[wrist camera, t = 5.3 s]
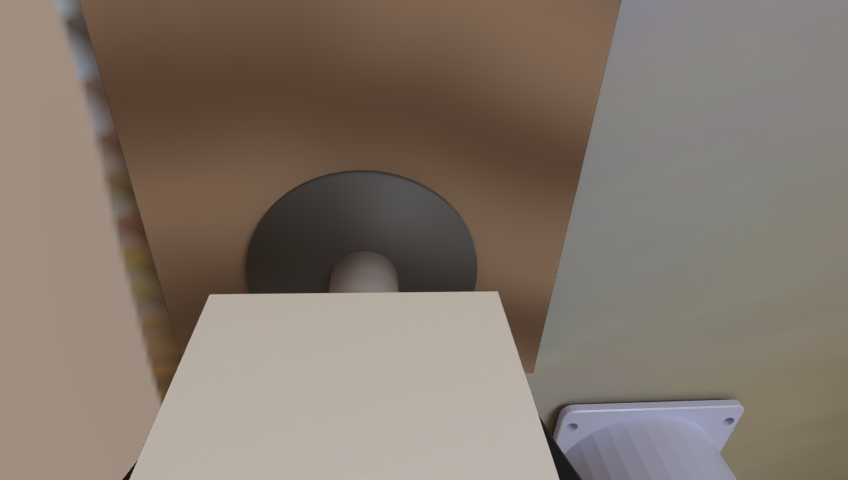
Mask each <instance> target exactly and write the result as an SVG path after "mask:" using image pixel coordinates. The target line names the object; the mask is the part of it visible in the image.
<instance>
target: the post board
mask: <svg viewBox="0 0 848 480" xmlns="http://www.w3.org/2000/svg"><path fill="white" fill-rule="evenodd" d="M79 1H80V4H81V8H82V11H83V15H84V18H85V22H86V25H87V29H88V32H89V36H90V39H91V43H92V46H93V50H94V53H95V57H96V60H97V64H98V67H99V71H100V74H101V78H102V82H103V85H104V89H105V92H106V96H107V99H108V103H109V106H110V110H111V113H112V117H113V120H114V124H115V127H116V131H117V134H118V138H119V141H120V145H121V148H122V152H123V155H124V159H125V162H126V166H127V169H128V173H129V176H130V180H131V183H132V187H133V190H134V194H135V197H136V201H137V205H138V208H139V212H140V215H141V219H142V222H143V226H144V229H145V233H146V236H147V240H148V243H149V247H150V250H151V254H152V257H153V261H154V264H155V268H156V271H157V275H158V278H159V282H160V285H161V289H162V292H163V296H164V299H165V303H166V306H167V310H168V313H169V317H170V320H171V324H172V328H173V331H174V335H175V338H176V342H177V345H178V349H179V352H180V356H181V359H182V357H183V355H184V352H185V350H186V348H187V345H188V343H189V341H190V338H191V336H192V334H193V332H194V329H195V327H196V325H197V322H198V320H199V318H200V315H201V313H202V311H203V308H204V306H205V304H206V302H207V299H208V297H209V295H210V294H296V293H392V292H488V291H498V294H499V297H500V300H501V303H502V306H503V309H504V312H505V315H506V318H507V321H508V324H509V327H510V330H511V333H512V336H513V339H514V342H515V345H516V349H517V352H518V355H519V358H520V361H521V364H522V367H523V370H524V373H533V371H534V367H535V362H536V358H537V354H538V350H539V345H540V341H541V337H542V333H543V329H544V324H545V320H546V316H547V312H548V308H549V303H550V299H551V295H552V291H553V287H554V282H555V278H556V274H557V270H558V265H559V261H560V257H561V253H562V249H563V244H564V240H565V236H566V232H567V228H568V223H569V219H570V215H571V211H572V206H573V202H574V198H575V194H576V190H577V185H578V181H579V177H580V173H581V169H582V164H583V160H584V156H585V152H586V148H587V143H588V139H589V135H590V131H591V126H592V122H593V118H594V114H595V110H596V105H597V101H598V97H599V93H600V89H601V84H602V80H603V76H604V72H605V68H606V63H607V59H608V55H609V51H610V46H611V42H612V38H613V34H614V30H615V25H616V21H617V17H618V13H619V9H620V4H621V0H79Z"/></svg>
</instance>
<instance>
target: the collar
mask: <svg viewBox="0 0 848 480" xmlns="http://www.w3.org/2000/svg"><path fill="white" fill-rule="evenodd" d="M129 480H559V477H558V474H557V470H556V467H555V464H554V461H553V458H552V455H551V452H550V449H549V446H548V443H547V440H546V437H545V434H544V431H543V428H542V425H541V422H540V419H539V416H538V413H537V409H536V406H535V403H534V400H533V397H532V394H531V391H530V388H529V385H528V382H527V379H526V376H525V373H524V370H523V367H522V364H521V361H520V358H519V355H518V352H517V349H516V345H515V342H514V339H513V336H512V333H511V330H510V327H509V324H508V321H507V318H506V315H505V312H504V309H503V306H502V303H501V300H500V297H499V294H498V291H488V292H392V293H296V294H210V295H209V297H208V299H207V302H206V304H205V306H204V308H203V311H202V313H201V315H200V318H199V320H198V322H197V325H196V327H195V329H194V332H193V334H192V336H191V338H190V341H189V343H188V345H187V348H186V350H185V352H184V355H183V357H182V359H181V362H180V364H179V366H178V368H177V371H176V373H175V375H174V378H173V380H172V382H171V385H170V387H169V389H168V392H167V394H166V396H165V398H164V401H163V403H162V405H161V408H160V410H159V413H158V415H157V417H156V419H155V422H154V424H153V426H152V429H151V431H150V433H149V436H148V438H147V440H146V442H145V445H144V447H143V449H142V452H141V454H140V456H139V458H138V461H137V463H136V465H135V468H134V470H133V472H132V475H131V477H130V479H129Z"/></svg>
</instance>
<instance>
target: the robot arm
mask: <svg viewBox="0 0 848 480" xmlns="http://www.w3.org/2000/svg"><path fill="white" fill-rule="evenodd" d="M743 411H744V409H743V407H742V405H741V404H740V403H739V402H738V401H737V400H700V401H668V402H637V403H606V404H575V405H568V406H566V407H564V408H563V409H562V410H561V412H560V414H559V417H558V421H557V424H556V427H555V431H554V434H553V437H552V435H551V434H550V432H549V431H548V429H547V428H546V426H545V424H544V423H543V421H542V420H541V418H540V416H539V415H538V416H539V419H540V422H541V425H542V428H543V431H544V434H545V437H546V440H547V443H548V446H549V449H550V452H551V455H552V458H553V461H554V464H555V467H556V470H557V474H558V477H559V480H737V479H736V478H735V476H734V475H733V473H732V472H731V470H730V468H729V467H728V465H727V464H726V462H725V461H724V459H723V458H722V456H721V454H720V451H721V450H722V448H723V446H724V445H725V443H726V441H727V439H728V438H729V436H730V434H731V433H732V431H733V429H734V428H735V426H736V424H737V422H738V421H739V419H740V417H741V416H742V414H743ZM136 463H137V462H136ZM136 463H135V464H134V466H133V467H132V468H131V470H130V471H129V472H128V473H127V475H126V476H125V477H124V478H123V480H129V479H130V477H131V475H132V472H133V470H134V468H135V465H136Z"/></svg>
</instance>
